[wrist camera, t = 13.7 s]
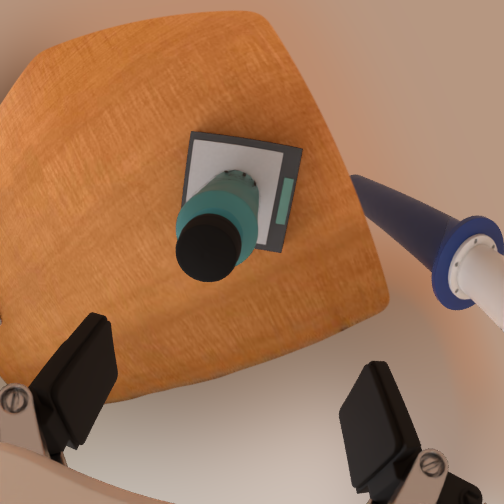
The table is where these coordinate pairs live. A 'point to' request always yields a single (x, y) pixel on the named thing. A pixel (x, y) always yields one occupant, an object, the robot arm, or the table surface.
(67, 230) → the table surface
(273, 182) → the scale
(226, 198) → the beverage bottle
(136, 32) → the table surface
